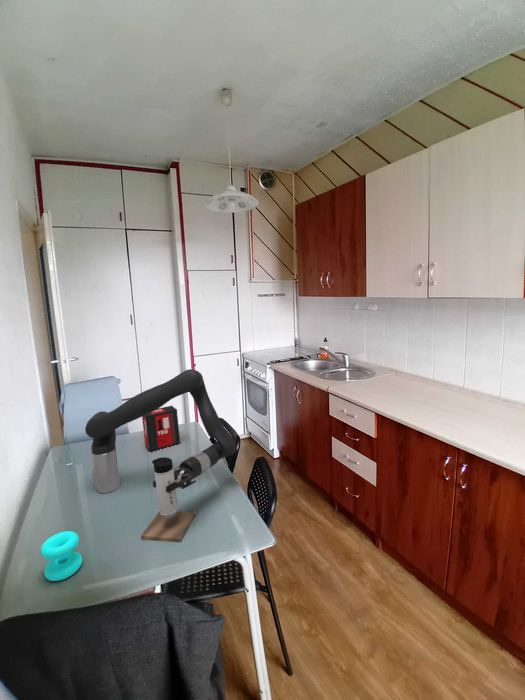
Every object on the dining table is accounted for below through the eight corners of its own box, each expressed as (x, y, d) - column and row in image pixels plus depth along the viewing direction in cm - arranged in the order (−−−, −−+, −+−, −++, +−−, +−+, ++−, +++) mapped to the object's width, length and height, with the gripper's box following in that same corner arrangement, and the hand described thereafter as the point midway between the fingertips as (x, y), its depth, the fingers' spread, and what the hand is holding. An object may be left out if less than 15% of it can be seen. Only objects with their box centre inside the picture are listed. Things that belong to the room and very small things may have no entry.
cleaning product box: (175, 439, 199) (171, 405, 195) (180, 444, 191) (176, 409, 188) (145, 447, 190) (141, 412, 187) (149, 452, 183) (145, 416, 179)
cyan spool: (58, 527, 110) (85, 530, 108) (62, 556, 111) (90, 559, 109) (31, 550, 100) (61, 554, 98) (36, 581, 102) (66, 585, 100)
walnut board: (141, 539, 117) (140, 536, 117) (160, 513, 131) (159, 510, 130) (180, 542, 115) (180, 539, 114) (195, 515, 128) (195, 512, 128)
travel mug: (161, 508, 125) (154, 456, 121) (179, 506, 125) (173, 454, 122) (157, 519, 119) (150, 465, 115) (176, 517, 119) (170, 463, 116)
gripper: (181, 452, 135) (145, 472, 122) (208, 460, 127) (173, 483, 113) (183, 470, 136) (147, 491, 123) (210, 479, 128) (175, 503, 115)
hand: (160, 487), depth 118 cm, fingers closed on travel mug, 6 cm apart
